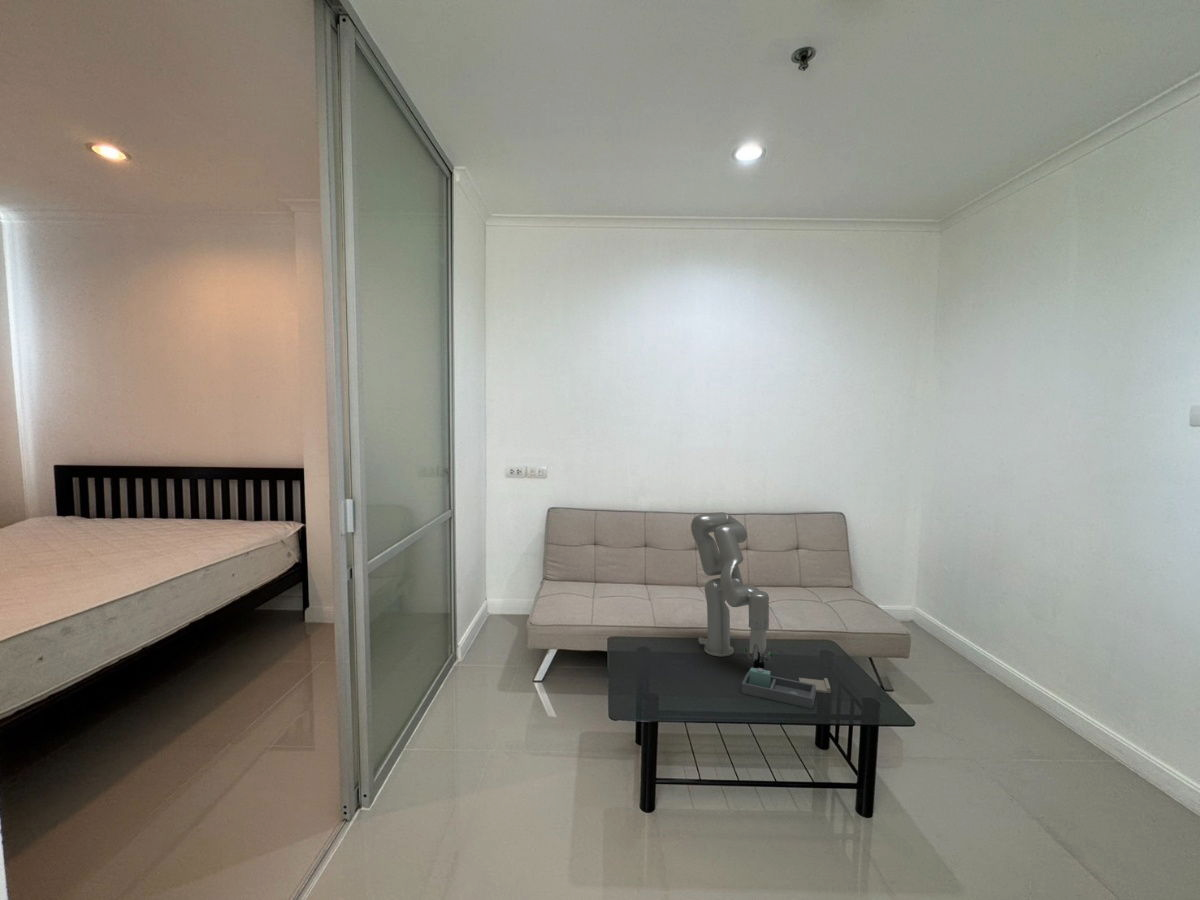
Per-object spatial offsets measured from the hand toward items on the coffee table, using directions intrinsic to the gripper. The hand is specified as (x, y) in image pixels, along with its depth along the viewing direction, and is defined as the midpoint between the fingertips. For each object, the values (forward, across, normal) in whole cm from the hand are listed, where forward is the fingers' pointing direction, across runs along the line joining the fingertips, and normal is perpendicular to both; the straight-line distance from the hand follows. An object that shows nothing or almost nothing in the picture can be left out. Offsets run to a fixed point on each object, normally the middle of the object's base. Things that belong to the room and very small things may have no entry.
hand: (758, 669), depth 198 cm
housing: (+2, +12, +9) cm, 15 cm away
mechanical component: (+2, 0, 0) cm, 2 cm away
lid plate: (+2, 0, +20) cm, 20 cm away
